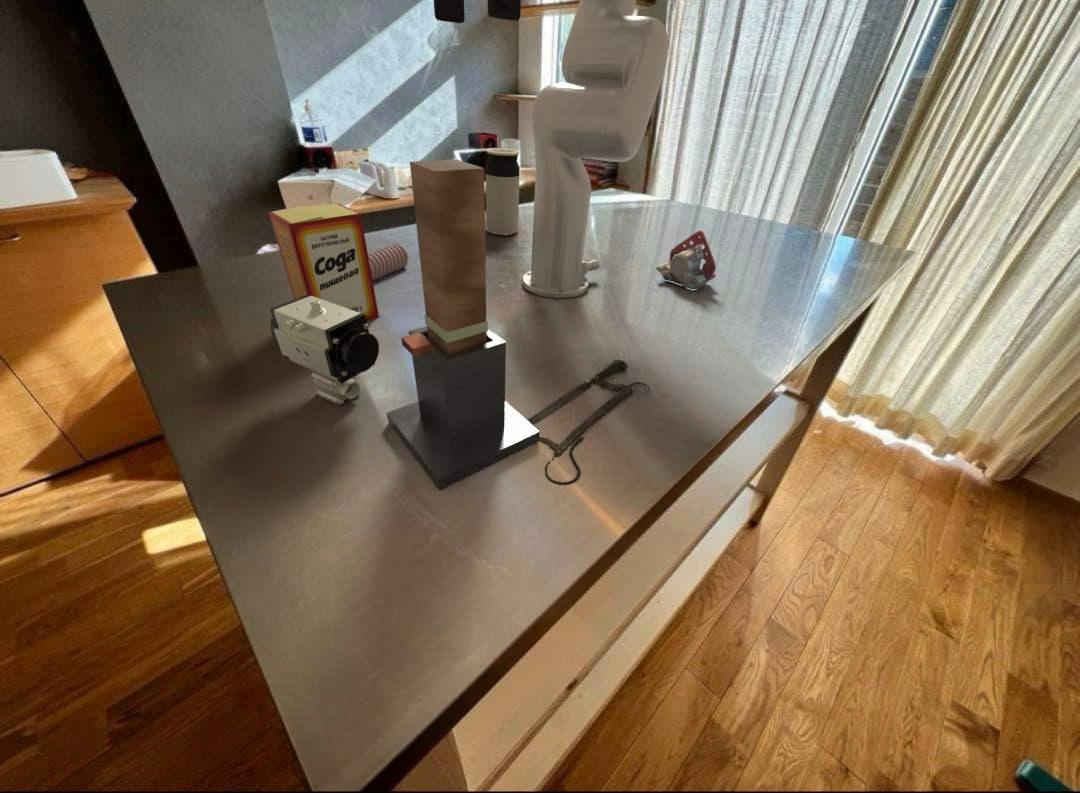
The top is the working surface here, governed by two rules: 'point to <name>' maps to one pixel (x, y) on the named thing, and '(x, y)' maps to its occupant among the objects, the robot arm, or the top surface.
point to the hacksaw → (591, 420)
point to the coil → (387, 260)
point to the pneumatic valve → (325, 344)
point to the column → (452, 251)
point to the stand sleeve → (459, 410)
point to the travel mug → (502, 191)
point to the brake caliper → (689, 263)
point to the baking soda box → (326, 255)
